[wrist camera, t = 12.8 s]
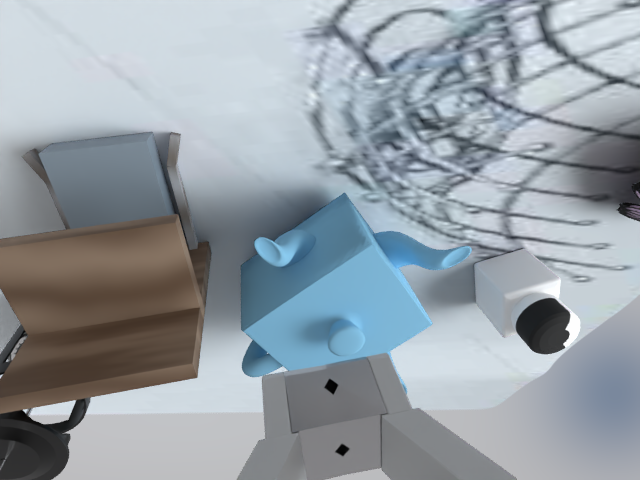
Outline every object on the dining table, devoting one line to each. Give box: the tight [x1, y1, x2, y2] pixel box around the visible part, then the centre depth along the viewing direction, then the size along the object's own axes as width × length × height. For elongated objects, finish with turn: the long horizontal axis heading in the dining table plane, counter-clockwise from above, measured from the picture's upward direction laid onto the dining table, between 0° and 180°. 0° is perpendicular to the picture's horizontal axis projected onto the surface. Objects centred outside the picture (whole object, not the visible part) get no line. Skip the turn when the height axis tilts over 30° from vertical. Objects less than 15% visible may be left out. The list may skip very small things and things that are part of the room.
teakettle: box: [241, 193, 472, 395], centre depth 43 cm, size 19×19×15 cm
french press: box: [0, 324, 91, 480], centre depth 38 cm, size 12×9×23 cm
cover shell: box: [39, 132, 175, 229], centre depth 40 cm, size 12×9×3 cm
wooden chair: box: [0, 132, 211, 414], centre depth 34 cm, size 14×14×18 cm
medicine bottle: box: [474, 249, 580, 354], centre depth 50 cm, size 7×7×12 cm
